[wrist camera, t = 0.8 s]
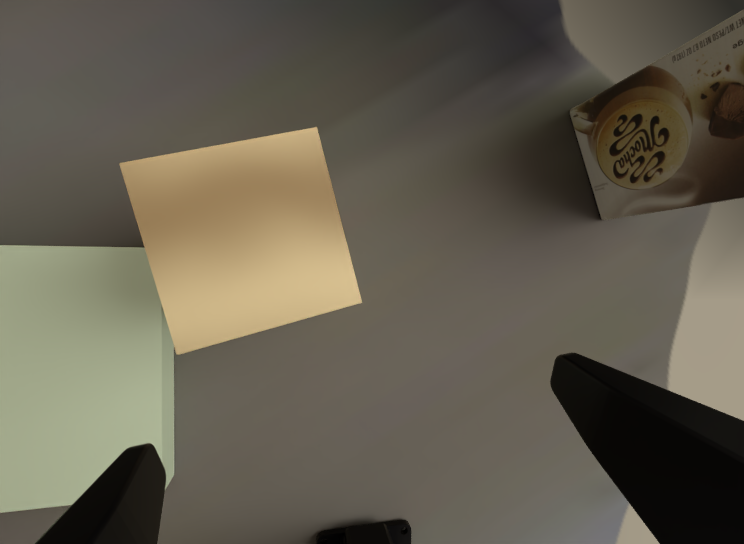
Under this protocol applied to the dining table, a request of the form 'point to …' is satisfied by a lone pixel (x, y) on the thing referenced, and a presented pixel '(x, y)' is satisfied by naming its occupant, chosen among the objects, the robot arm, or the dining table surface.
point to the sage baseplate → (79, 369)
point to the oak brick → (242, 236)
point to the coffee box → (669, 129)
